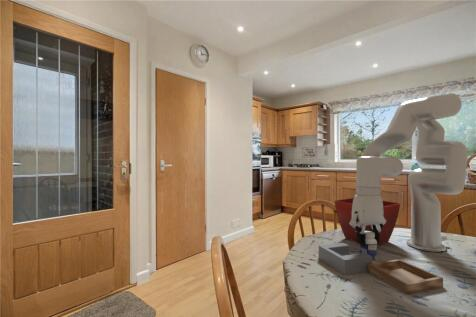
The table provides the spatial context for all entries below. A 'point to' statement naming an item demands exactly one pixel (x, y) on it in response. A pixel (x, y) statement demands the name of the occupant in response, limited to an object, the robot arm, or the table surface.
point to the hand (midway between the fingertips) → (368, 243)
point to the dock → (344, 258)
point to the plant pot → (349, 232)
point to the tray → (405, 276)
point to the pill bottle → (369, 245)
